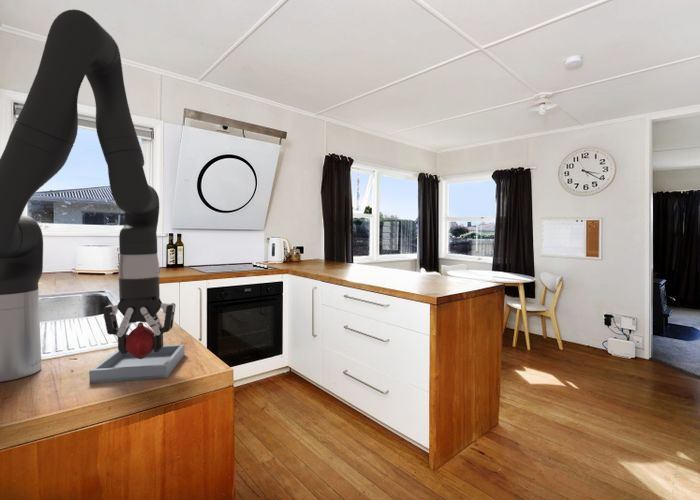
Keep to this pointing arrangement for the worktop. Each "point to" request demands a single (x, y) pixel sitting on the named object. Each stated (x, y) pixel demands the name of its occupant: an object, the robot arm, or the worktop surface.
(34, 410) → the worktop surface
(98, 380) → the tray
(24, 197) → the robot arm
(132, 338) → the onion
